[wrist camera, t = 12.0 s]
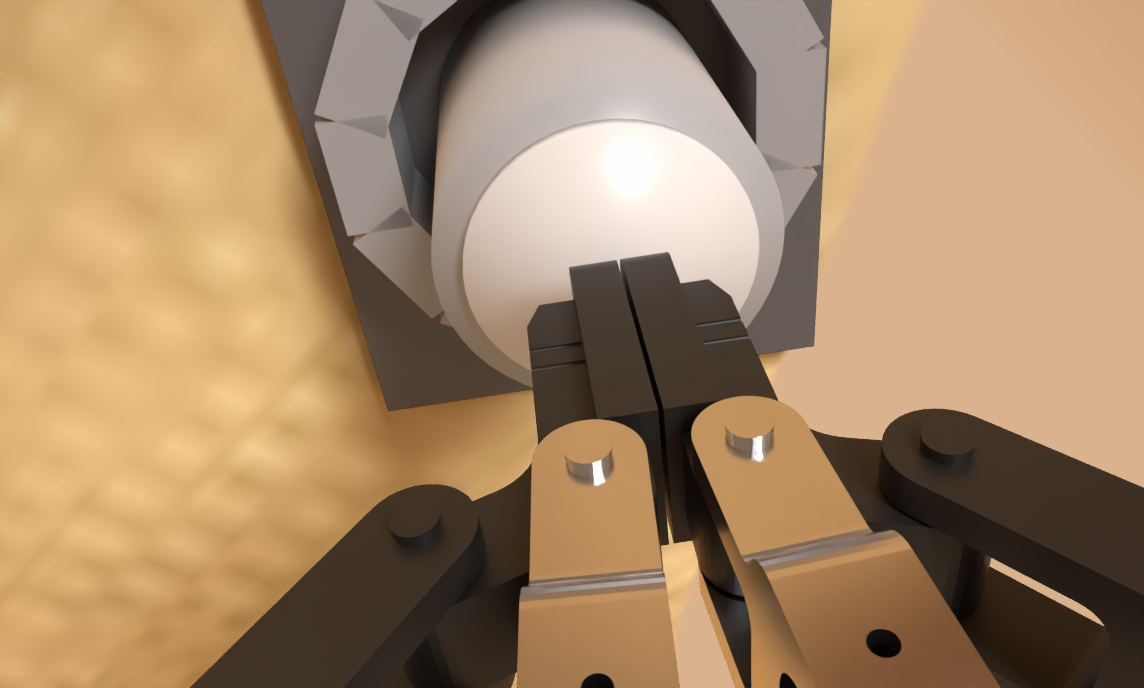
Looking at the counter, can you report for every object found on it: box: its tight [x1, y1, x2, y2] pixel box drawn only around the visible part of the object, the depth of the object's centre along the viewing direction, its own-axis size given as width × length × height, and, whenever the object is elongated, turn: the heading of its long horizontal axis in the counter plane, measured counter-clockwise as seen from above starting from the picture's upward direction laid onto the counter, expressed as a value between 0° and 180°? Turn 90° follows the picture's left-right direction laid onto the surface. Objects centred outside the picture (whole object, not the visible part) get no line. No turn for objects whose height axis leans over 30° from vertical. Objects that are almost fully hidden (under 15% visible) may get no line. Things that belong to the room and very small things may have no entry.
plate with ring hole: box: [261, 0, 832, 411], centre depth 20 cm, size 16×12×3 cm
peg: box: [431, 0, 785, 387], centre depth 17 cm, size 6×6×7 cm
